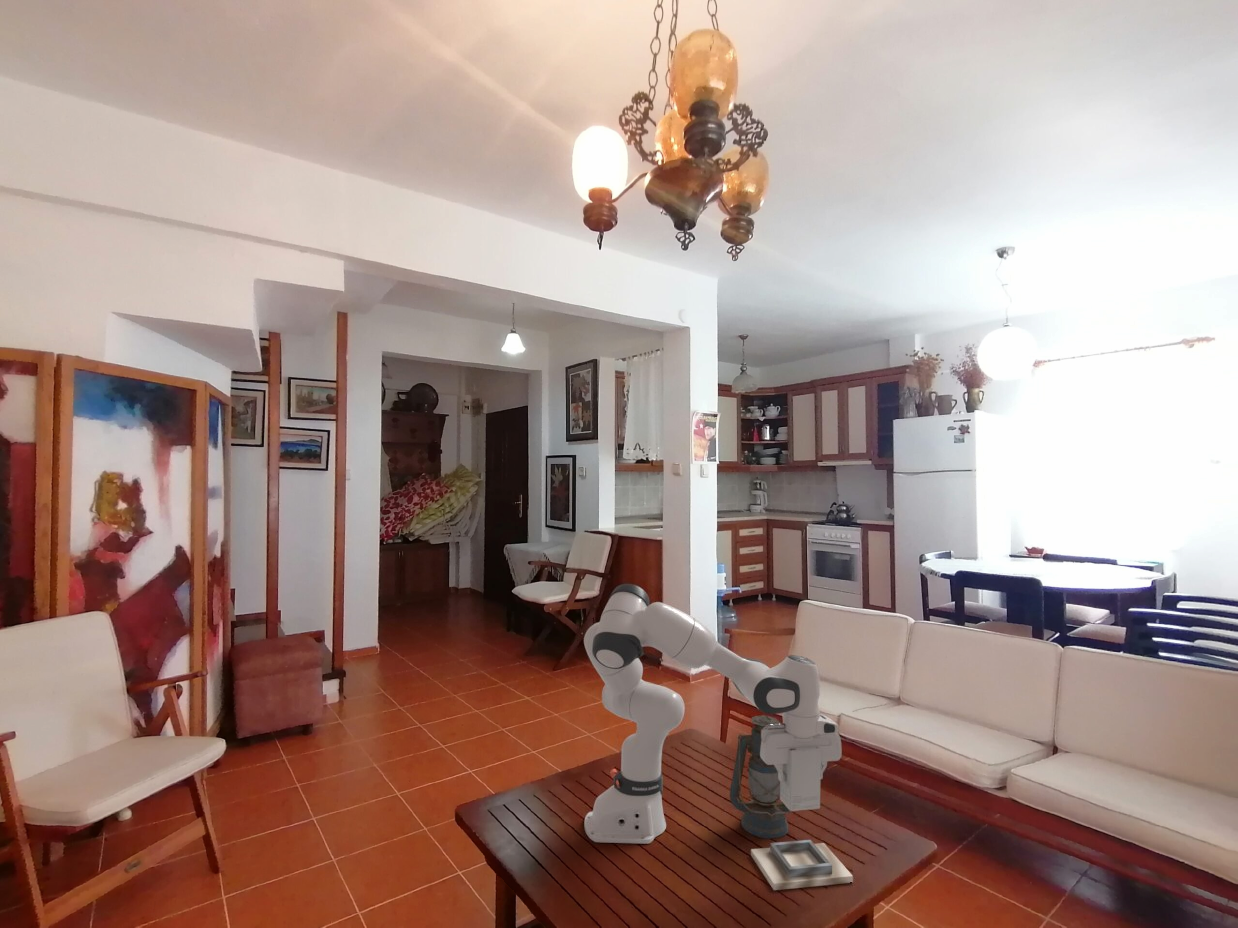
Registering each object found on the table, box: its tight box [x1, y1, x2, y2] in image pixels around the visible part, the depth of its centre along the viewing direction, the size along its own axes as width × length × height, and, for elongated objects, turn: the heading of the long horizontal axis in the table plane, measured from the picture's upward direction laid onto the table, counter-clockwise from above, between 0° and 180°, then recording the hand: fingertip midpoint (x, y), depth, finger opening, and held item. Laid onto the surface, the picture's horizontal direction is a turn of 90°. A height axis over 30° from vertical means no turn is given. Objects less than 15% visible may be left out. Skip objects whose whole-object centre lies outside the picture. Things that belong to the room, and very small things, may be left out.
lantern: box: [729, 714, 794, 839], centre depth 174 cm, size 19×14×30 cm
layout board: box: [750, 839, 854, 891], centre depth 155 cm, size 20×14×4 cm
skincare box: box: [779, 747, 822, 812], centre depth 155 cm, size 8×6×15 cm
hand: (800, 779), depth 155 cm, fingers closed on skincare box, 8 cm apart
